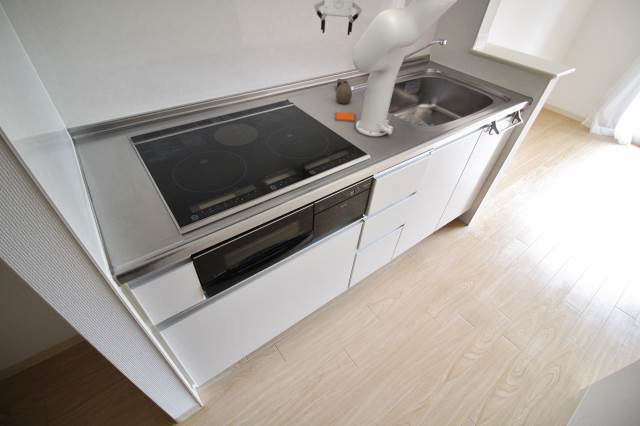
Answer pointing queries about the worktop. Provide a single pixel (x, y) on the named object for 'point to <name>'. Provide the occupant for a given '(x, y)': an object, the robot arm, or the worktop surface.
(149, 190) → the worktop surface
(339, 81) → the walnut block
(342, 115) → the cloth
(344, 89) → the vase
